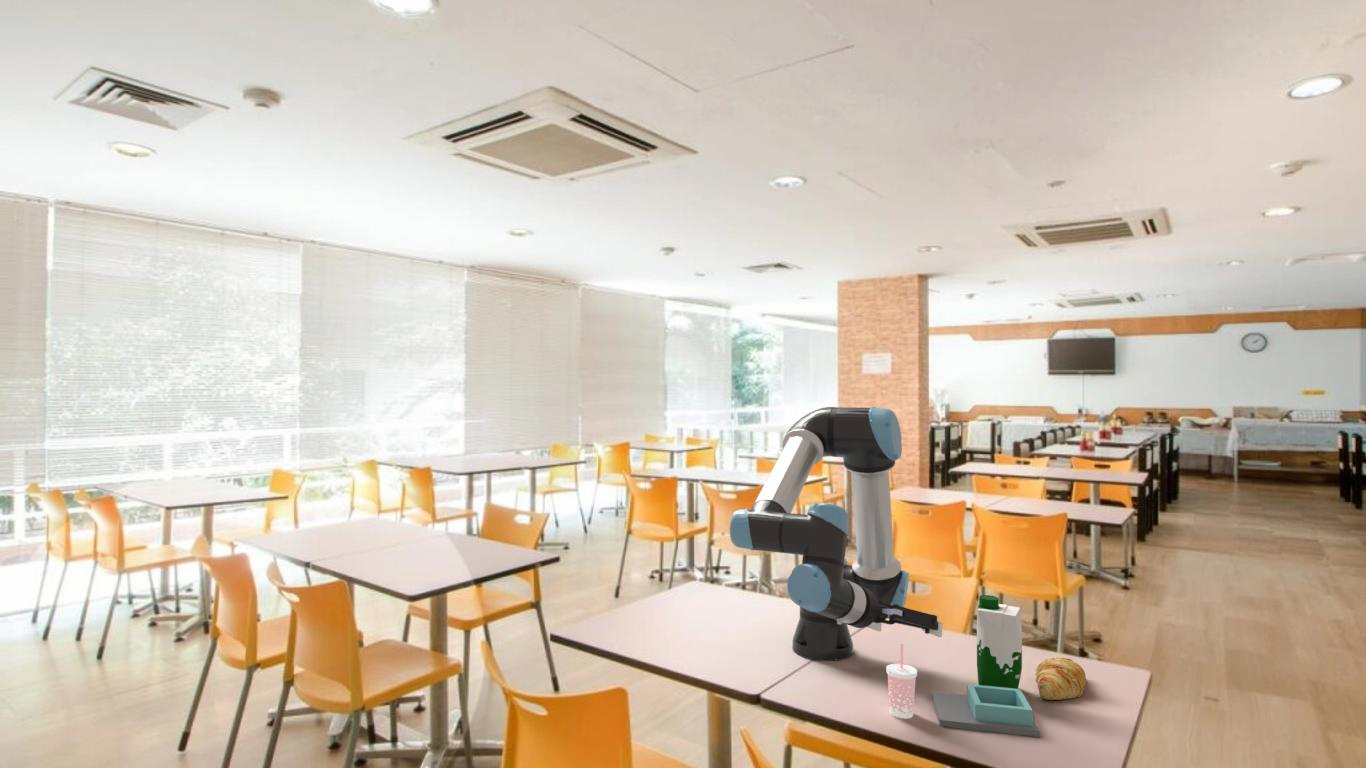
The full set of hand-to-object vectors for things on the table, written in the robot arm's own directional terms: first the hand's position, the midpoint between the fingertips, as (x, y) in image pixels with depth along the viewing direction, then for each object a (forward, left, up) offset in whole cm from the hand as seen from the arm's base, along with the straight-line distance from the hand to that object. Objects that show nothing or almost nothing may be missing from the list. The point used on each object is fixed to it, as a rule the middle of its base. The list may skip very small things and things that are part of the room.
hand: (909, 627), depth 146 cm
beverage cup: (-2, -1, -18) cm, 18 cm away
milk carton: (+20, +17, -18) cm, 32 cm away
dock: (+14, +2, -17) cm, 23 cm away
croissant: (+34, +22, -18) cm, 44 cm away
